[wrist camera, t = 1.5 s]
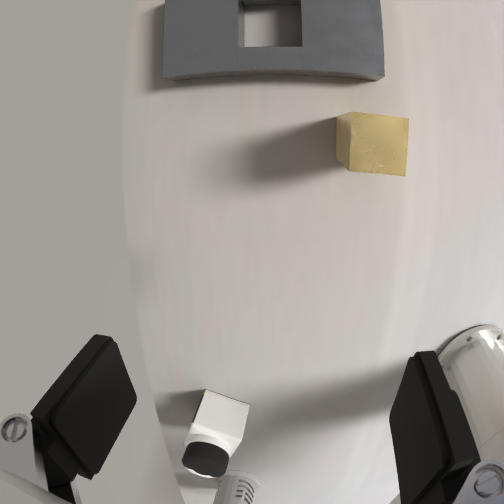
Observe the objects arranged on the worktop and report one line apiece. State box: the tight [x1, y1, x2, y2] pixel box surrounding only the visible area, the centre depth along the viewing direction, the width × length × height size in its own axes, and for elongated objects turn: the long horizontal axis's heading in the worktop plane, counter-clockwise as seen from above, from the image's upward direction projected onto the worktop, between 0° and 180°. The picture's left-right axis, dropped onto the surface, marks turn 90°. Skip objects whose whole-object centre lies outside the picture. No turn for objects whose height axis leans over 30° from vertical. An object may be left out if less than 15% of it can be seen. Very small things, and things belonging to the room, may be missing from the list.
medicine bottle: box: [182, 390, 250, 478], centre depth 40 cm, size 7×7×12 cm
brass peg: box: [335, 112, 409, 176], centre depth 24 cm, size 4×4×10 cm
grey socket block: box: [163, 0, 385, 81], centre depth 24 cm, size 20×10×3 cm, turn 90°
